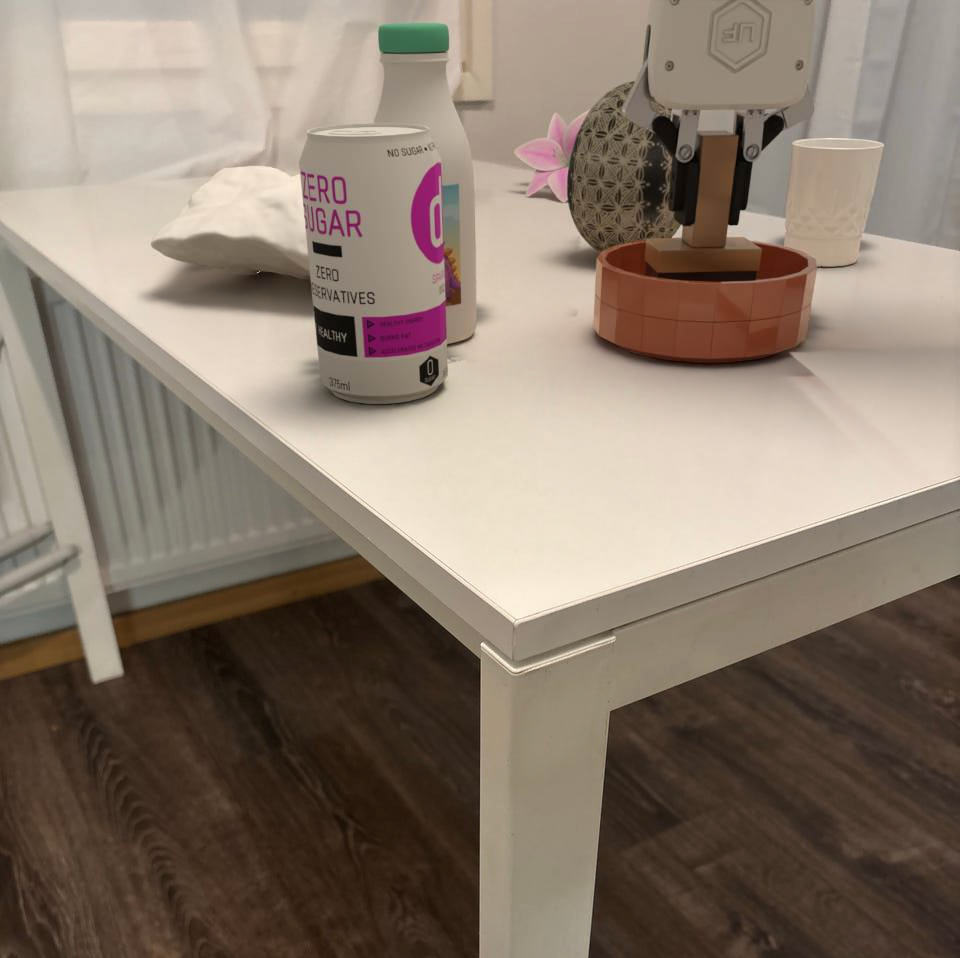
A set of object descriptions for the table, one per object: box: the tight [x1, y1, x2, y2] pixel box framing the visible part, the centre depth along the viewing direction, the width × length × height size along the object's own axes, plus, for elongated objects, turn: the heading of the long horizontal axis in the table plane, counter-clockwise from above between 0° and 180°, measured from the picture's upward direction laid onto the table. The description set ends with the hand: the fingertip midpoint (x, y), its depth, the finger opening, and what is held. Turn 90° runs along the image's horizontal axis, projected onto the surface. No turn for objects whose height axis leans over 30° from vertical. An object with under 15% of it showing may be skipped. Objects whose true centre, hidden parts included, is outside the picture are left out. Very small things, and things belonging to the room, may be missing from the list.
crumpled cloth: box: [150, 165, 311, 280], centre depth 91 cm, size 24×35×9 cm
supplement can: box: [298, 122, 449, 405], centre depth 62 cm, size 8×8×15 cm
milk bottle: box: [373, 22, 477, 345], centre depth 71 cm, size 8×8×20 cm
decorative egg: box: [567, 80, 682, 254], centre depth 94 cm, size 12×12×15 cm
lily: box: [513, 108, 592, 204], centre depth 128 cm, size 12×12×10 cm
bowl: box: [593, 239, 818, 364], centre depth 73 cm, size 15×15×6 cm
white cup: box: [783, 137, 885, 268], centre depth 93 cm, size 8×8×10 cm
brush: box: [645, 130, 762, 282], centre depth 70 cm, size 7×4×10 cm, turn 94°
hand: (705, 220), depth 71 cm, fingers closed on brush, 2 cm apart
